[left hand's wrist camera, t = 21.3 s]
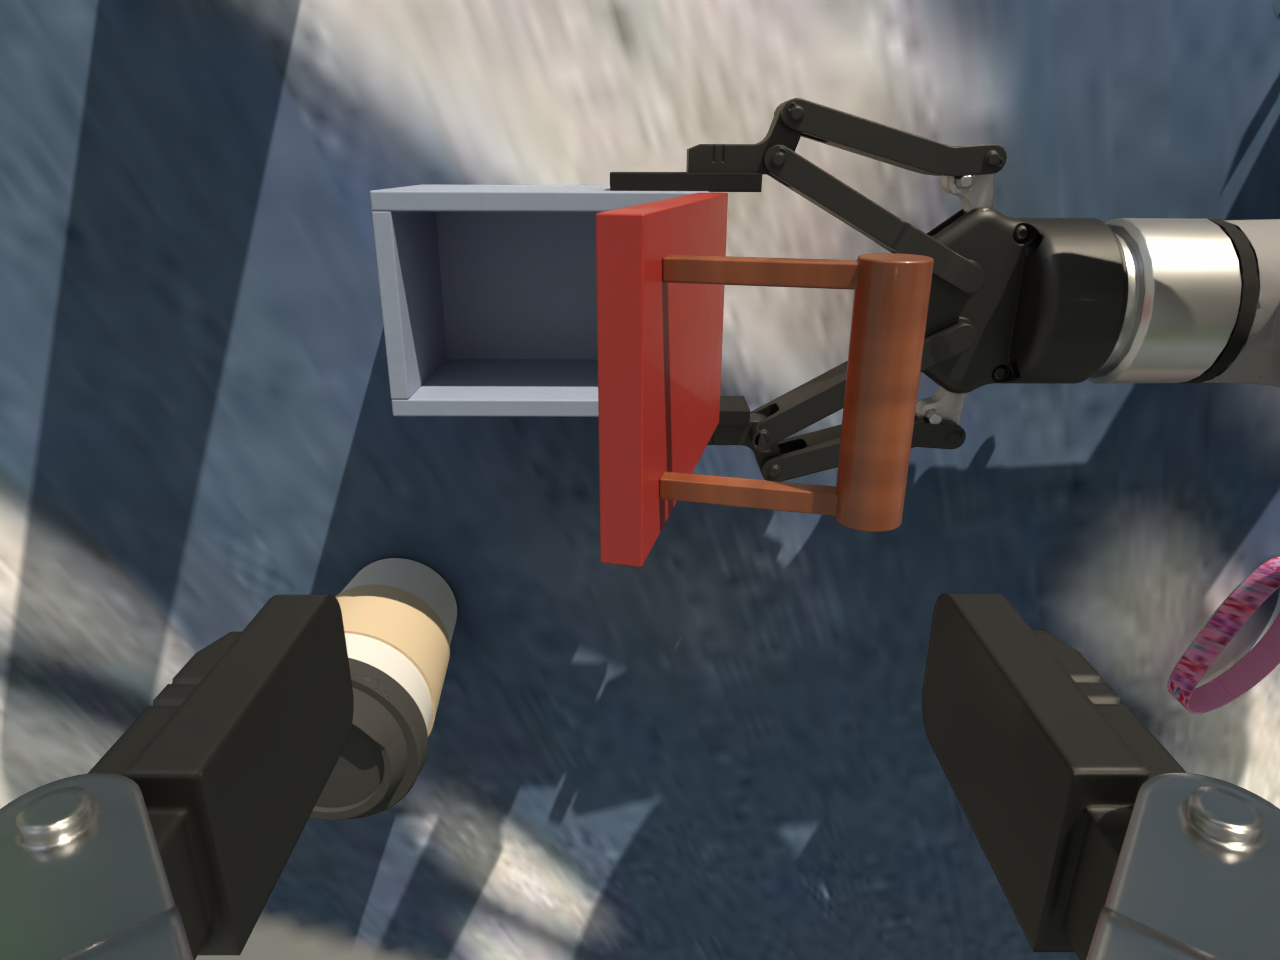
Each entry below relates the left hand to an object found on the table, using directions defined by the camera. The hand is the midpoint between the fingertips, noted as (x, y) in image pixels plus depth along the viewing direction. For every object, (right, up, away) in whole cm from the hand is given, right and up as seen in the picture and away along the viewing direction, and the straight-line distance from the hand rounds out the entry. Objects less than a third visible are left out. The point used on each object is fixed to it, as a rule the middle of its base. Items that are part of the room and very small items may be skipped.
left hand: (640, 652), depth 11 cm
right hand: (-1, +11, +28) cm, 30 cm away
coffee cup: (-15, -5, +41) cm, 44 cm away
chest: (-4, +13, +34) cm, 37 cm away
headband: (+37, -7, +42) cm, 57 cm away
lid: (+1, +7, +18) cm, 20 cm away
